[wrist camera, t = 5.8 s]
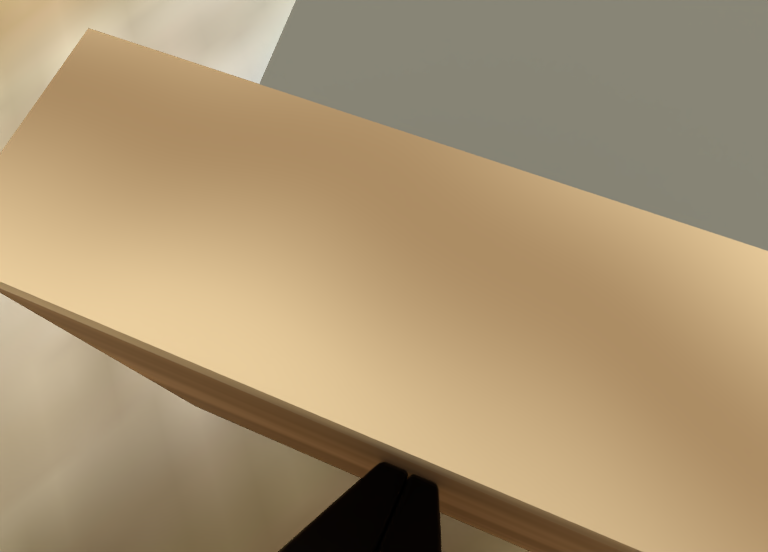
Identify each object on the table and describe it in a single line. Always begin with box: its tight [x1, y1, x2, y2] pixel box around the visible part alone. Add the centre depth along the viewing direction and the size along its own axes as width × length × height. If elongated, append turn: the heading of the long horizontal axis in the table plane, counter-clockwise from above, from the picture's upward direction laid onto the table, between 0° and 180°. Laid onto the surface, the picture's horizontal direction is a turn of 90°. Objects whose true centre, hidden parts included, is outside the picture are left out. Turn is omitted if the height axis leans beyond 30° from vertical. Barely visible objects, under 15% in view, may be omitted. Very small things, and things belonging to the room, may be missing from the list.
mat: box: [260, 0, 768, 251], centre depth 18 cm, size 13×16×1 cm
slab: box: [0, 28, 768, 552], centre depth 12 cm, size 4×12×10 cm, turn 68°
